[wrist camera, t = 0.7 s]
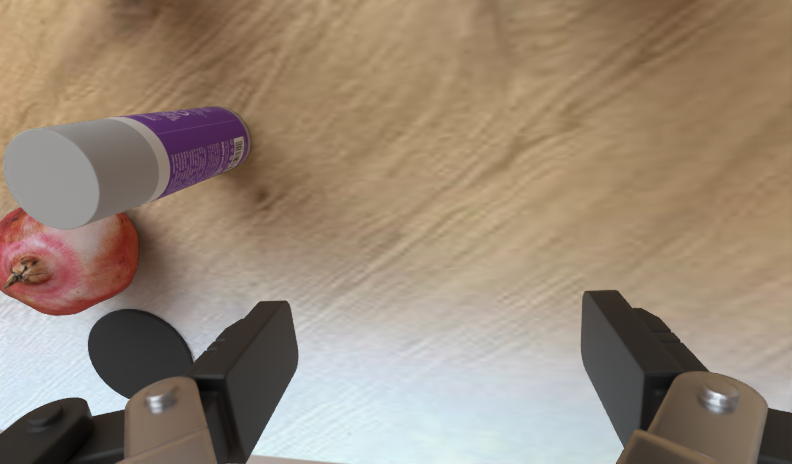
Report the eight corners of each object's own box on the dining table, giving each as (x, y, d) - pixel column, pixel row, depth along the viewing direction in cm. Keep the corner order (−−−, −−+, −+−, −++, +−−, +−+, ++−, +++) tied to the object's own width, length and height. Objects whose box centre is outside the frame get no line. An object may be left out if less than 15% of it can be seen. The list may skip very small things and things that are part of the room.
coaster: (88, 298, 39) (84, 300, 39) (195, 323, 39) (192, 325, 38) (93, 387, 42) (90, 390, 42) (191, 412, 42) (189, 414, 42)
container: (229, 94, 32) (54, 105, 18) (262, 153, 33) (123, 207, 19) (179, 123, 33) (-22, 155, 19) (213, 179, 34) (47, 248, 20)
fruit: (61, 275, 39) (-63, 337, 29) (52, 170, 35) (-91, 203, 26) (160, 297, 38) (66, 367, 29) (159, 193, 35) (53, 234, 26)
